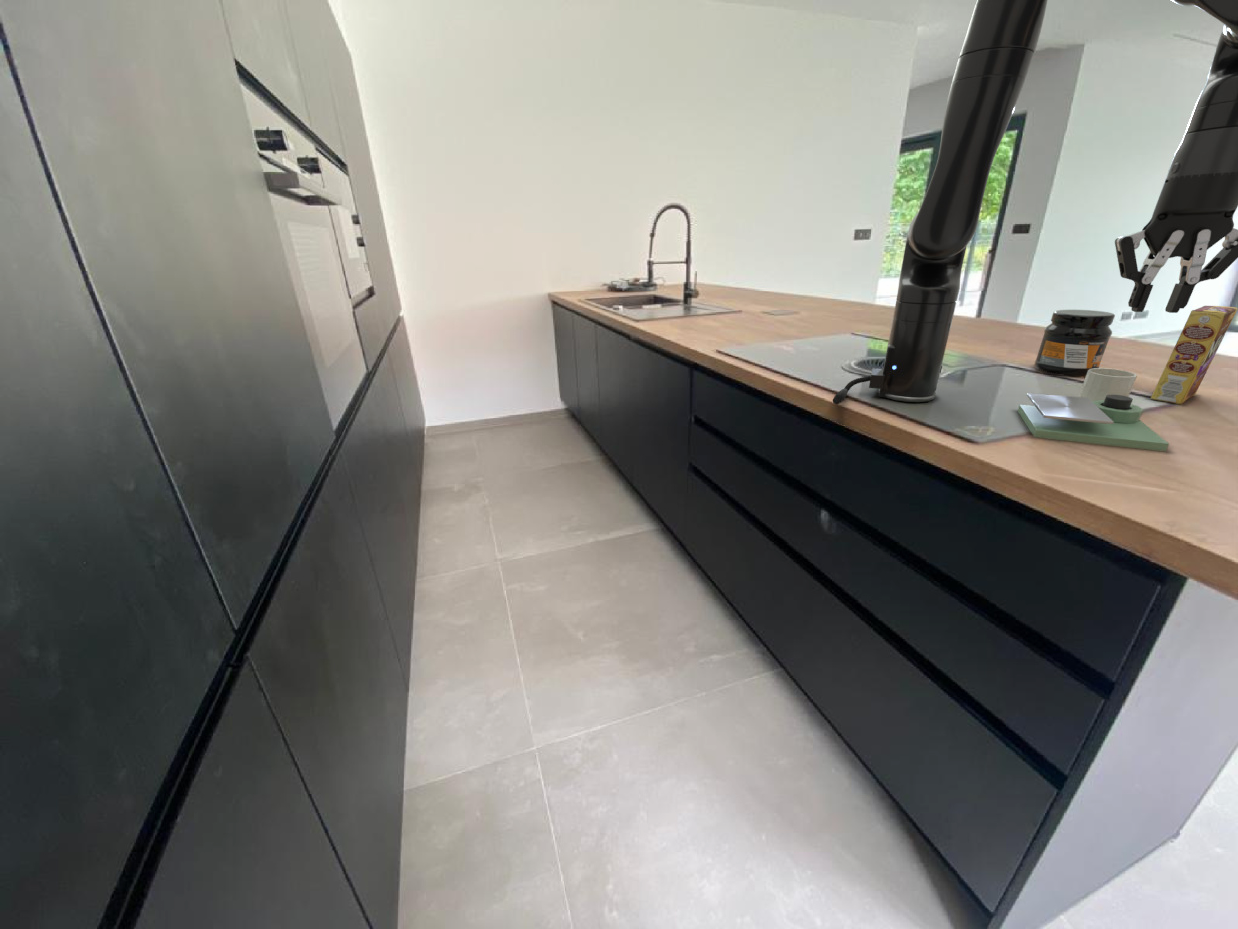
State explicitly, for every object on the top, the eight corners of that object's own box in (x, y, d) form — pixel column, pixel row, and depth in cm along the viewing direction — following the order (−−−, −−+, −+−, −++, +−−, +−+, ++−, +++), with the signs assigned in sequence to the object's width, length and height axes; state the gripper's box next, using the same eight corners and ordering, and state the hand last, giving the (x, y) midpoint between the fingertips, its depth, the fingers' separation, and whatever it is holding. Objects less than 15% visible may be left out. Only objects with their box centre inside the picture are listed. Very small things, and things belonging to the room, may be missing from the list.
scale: (1034, 437, 75) (1040, 418, 73) (1017, 410, 85) (1022, 393, 84) (1165, 451, 68) (1175, 431, 67) (1129, 420, 79) (1136, 402, 78)
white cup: (1083, 406, 86) (1094, 375, 84) (1073, 396, 91) (1083, 366, 88) (1130, 410, 83) (1143, 378, 81) (1117, 400, 88) (1129, 369, 86)
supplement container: (1072, 379, 100) (1093, 318, 95) (1020, 367, 110) (1037, 311, 105) (1109, 374, 103) (1132, 313, 98) (1056, 363, 112) (1074, 307, 107)
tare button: (1105, 410, 77) (1110, 399, 76) (1099, 404, 79) (1103, 393, 78) (1131, 412, 75) (1136, 401, 75) (1124, 406, 78) (1128, 395, 77)
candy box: (1184, 405, 85) (1226, 312, 78) (1149, 399, 88) (1187, 309, 81) (1198, 395, 89) (1239, 306, 83) (1164, 390, 92) (1201, 304, 86)
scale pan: (1043, 417, 74) (1044, 415, 73) (1026, 395, 83) (1027, 393, 83) (1112, 424, 70) (1114, 421, 70) (1087, 400, 80) (1087, 397, 80)
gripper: (1270, 169, 64) (1208, 309, 71) (1125, 178, 70) (1082, 307, 77) (1309, 164, 58) (1237, 317, 65) (1146, 174, 64) (1097, 314, 71)
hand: (1153, 310), depth 71 cm, fingers open, 3 cm apart
